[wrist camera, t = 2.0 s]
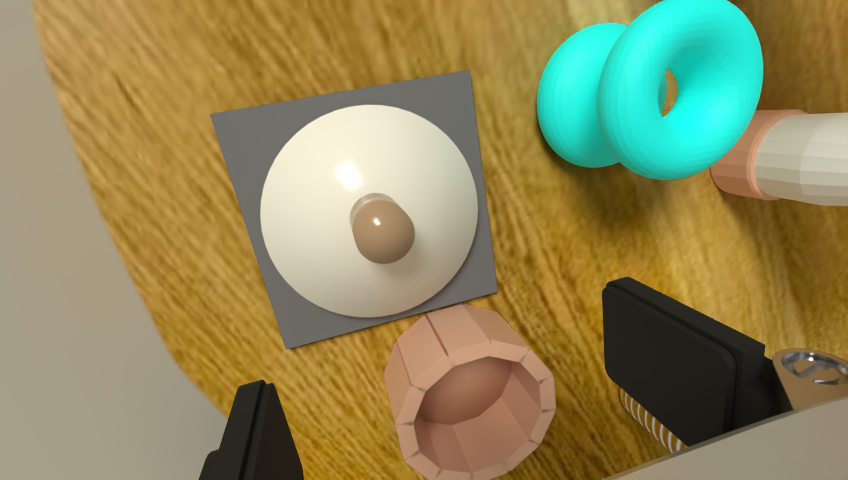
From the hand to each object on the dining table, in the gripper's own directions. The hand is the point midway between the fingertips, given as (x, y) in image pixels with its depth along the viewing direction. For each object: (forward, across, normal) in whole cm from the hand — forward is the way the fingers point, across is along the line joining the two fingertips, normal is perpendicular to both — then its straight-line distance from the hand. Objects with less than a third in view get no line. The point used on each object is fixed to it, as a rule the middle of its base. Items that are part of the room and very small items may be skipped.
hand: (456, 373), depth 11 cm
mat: (+20, 0, 0) cm, 20 cm away
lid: (+20, 0, 0) cm, 20 cm away
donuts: (+20, -18, -5) cm, 28 cm away
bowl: (+20, -4, +15) cm, 25 cm away
